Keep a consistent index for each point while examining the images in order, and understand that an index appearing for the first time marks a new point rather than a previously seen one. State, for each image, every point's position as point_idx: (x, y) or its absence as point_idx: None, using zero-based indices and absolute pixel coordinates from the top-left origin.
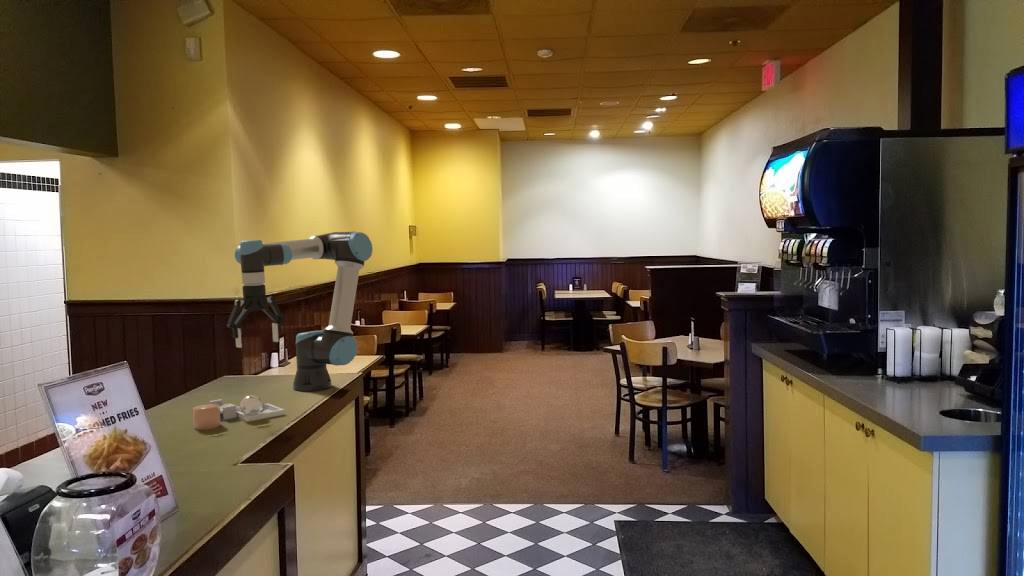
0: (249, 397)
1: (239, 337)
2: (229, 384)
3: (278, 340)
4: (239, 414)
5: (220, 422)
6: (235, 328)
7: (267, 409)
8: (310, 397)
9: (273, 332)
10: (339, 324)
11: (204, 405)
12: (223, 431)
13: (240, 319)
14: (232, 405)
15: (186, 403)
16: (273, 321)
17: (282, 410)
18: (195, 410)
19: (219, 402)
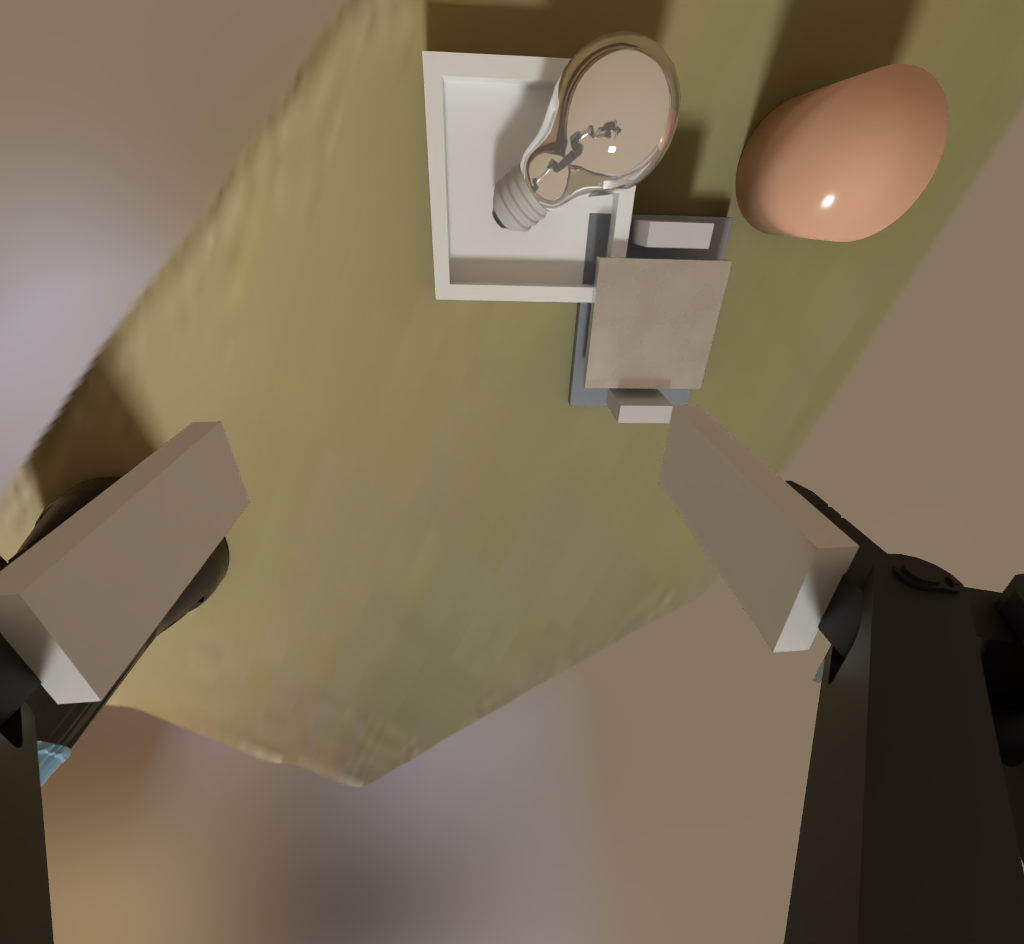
0: (651, 79)
1: (756, 464)
2: (400, 722)
3: (184, 430)
4: (632, 199)
5: (761, 134)
6: (920, 564)
7: (456, 258)
8: (190, 387)
9: (182, 555)
10: None
11: (840, 220)
12: (799, 19)
13: (974, 747)
14: (660, 241)
15: (603, 603)
16: (35, 731)
17: (438, 52)
18: (942, 138)
19: (631, 401)
